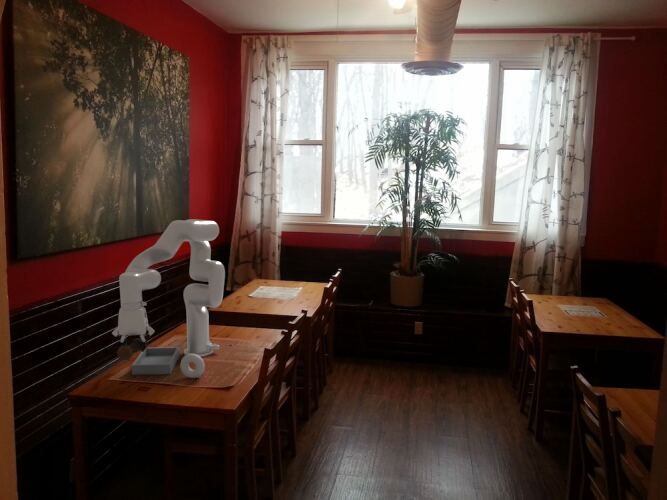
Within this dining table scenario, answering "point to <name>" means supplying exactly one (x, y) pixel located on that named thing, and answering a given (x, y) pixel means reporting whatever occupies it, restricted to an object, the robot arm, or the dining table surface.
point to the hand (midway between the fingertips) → (134, 350)
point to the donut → (187, 370)
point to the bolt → (129, 349)
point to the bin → (156, 361)
